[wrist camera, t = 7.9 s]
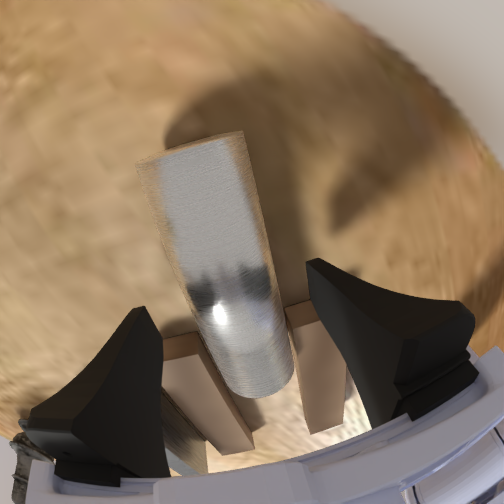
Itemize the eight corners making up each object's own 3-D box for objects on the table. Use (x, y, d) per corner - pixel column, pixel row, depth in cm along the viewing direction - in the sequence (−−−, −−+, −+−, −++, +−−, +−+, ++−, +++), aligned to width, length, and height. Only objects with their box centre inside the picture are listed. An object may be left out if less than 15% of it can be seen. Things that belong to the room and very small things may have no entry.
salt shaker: (7, 413, 18) (-14, 497, 7) (43, 422, 19) (26, 518, 8) (33, 439, 20) (19, 515, 10) (68, 447, 21) (58, 531, 11)
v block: (156, 385, 17) (153, 436, 13) (205, 441, 22) (209, 480, 18) (71, 394, 17) (60, 436, 13) (132, 448, 21) (130, 482, 18)
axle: (142, 157, 11) (124, 171, 7) (232, 130, 11) (255, 132, 8) (219, 355, 17) (231, 407, 13) (281, 334, 17) (304, 382, 13)
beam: (333, 292, 16) (346, 311, 14) (336, 408, 22) (342, 423, 21) (149, 342, 15) (146, 364, 14) (220, 439, 22) (222, 455, 20)
